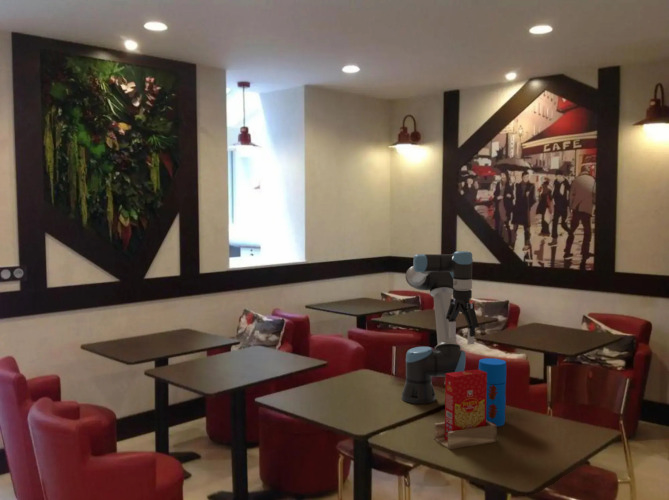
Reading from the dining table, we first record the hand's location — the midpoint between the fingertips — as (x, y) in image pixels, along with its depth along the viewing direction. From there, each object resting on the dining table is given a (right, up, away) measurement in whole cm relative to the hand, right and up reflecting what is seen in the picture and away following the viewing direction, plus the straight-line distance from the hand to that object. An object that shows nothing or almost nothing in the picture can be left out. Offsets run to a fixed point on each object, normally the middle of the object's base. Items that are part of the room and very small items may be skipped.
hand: (461, 340), depth 250 cm
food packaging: (-3, -34, -22) cm, 40 cm away
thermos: (+12, -33, -3) cm, 35 cm away
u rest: (-3, -34, -22) cm, 41 cm away
